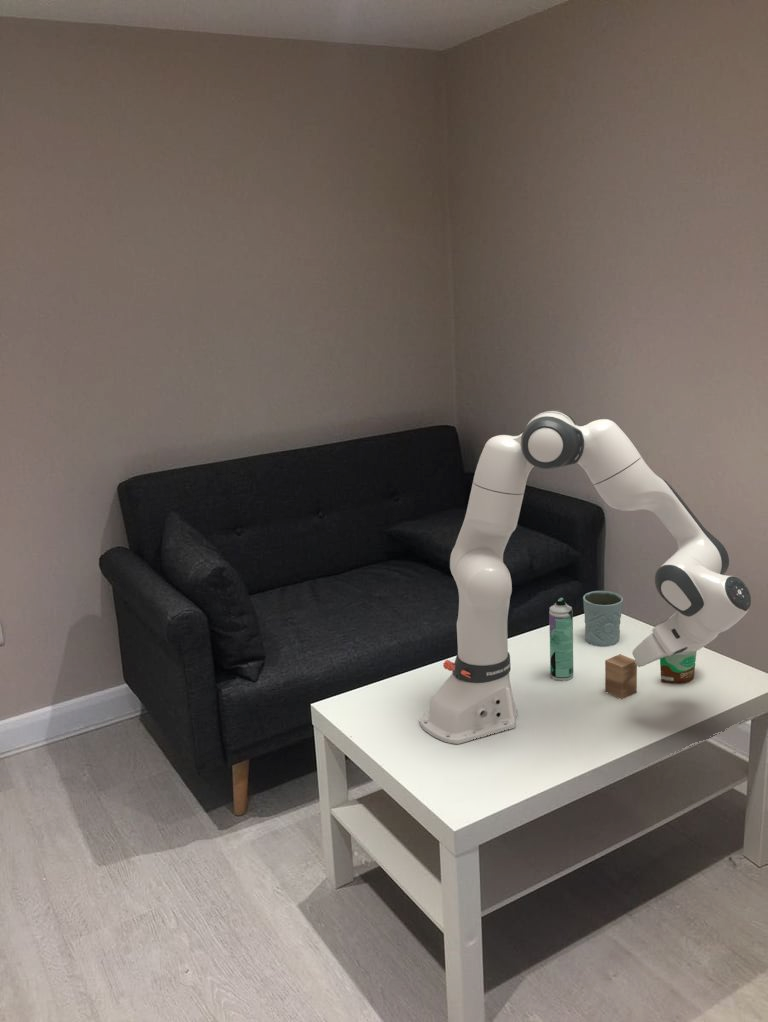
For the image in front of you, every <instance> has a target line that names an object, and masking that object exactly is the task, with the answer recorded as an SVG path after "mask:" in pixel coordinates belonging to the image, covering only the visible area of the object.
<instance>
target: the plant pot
mask: <svg viewBox="0 0 768 1022" xmlns="http://www.w3.org/2000/svg"><path fill="white" fill-rule="evenodd" d="M582 600H583V613H584V634H585V641H586V642H587V643H588V644H589V643H590V645H591V644H592V646H595V645H596V647H611V646H610V645H612V646H615V645H616V643H617V642H618V643H619V642H620V631H621V630H620V627H621V618H622V612H623V611H622V610H623V601H624V598H623V596H621V595H620V594H619V593H617V592H613V591H607V590H594V591H590V592H587V593H585V594H584V595H583V597H582ZM618 643H617V644H618ZM614 644H615V645H614Z"/></svg>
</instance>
